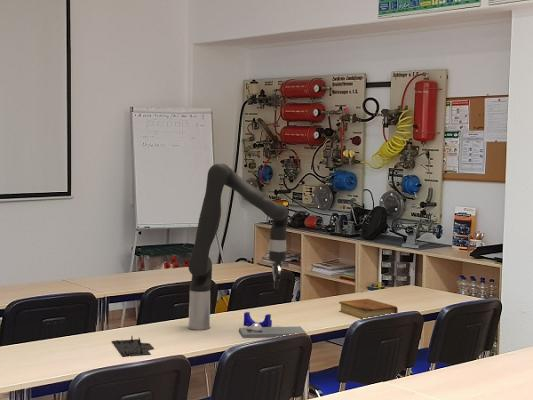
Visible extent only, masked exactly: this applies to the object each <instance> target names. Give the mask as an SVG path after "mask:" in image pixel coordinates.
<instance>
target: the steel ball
mask: <svg viewBox="0 0 533 400" xmlns="http://www.w3.org/2000/svg"><path fill="white" fill-rule="evenodd" d="M250 327H251V332H250V333H255V332H261V331H262V326H261V325H260V324H259V322H257V323H254V324H252V325H251V326H250Z"/></svg>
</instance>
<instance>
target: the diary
mask: <svg viewBox="0 0 533 400" xmlns="http://www.w3.org/2000/svg"><path fill="white" fill-rule="evenodd" d="M338 304H340V310H339V311H338V312H339V313H342V314H345V315H348V316H351V317H355V318H357V319H360V320H363V318H368V317H374V316H380V315H385V314H391V313H398V314H399V312H398V310H399V309H398V307H397V306H396V305H392V304H388V303H384V302H381V301H377V300H374V299H372V298H371V299H370V298H361V299H352V300H343V301H338Z"/></svg>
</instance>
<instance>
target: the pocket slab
mask: <svg viewBox="0 0 533 400" xmlns="http://www.w3.org/2000/svg"><path fill="white" fill-rule="evenodd" d="M238 332H239V334H240V336H241V337H242V339H254V338H255V339H256V338H257V339H258V338H263V339H264V338H277V337H276V336H283V335H289V334H295V333H306V334H307V332H306V331H305V330H304V329H303V327H302V326H301V325H300V326H298V325H297V326H271V327H262V331H261V332H255V333H252V332H251V326H245V327H238Z"/></svg>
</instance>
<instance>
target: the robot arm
mask: <svg viewBox="0 0 533 400" xmlns="http://www.w3.org/2000/svg"><path fill="white" fill-rule="evenodd" d="M224 186H226V187H229V188H231V189H232V190H233V191H235V192H237V193H238V194H239V195H240V196H241V197H242V198H243V199H244V200H245V201H247V203H249V204H250V205H253V206H254V207H256V208H257V209H259V210H260V211H262V212H263V214H265V215H266V216H267V217H268V218H269V219H271V220H272V226H271V227H270V231H269V246H268V260H269V261H271V262H273V263H272V265H271V269H272V270H271V271H272V278H273V289H274V290H279V289H280V281H281V279H282V275H283V265H282V262H285V261H286V260H287V228H288V227H287V226H288V220H289V210H288V207H287V206H286V205H285V204H283V203H277V202H275V201H274V200H272V199H271V197H270V196H268V194H266V193H265V192H263V191H261V190H260V189H258V188H257V187H255V186H253V185H252V184H250V183H249V182H248V181H247V180H245V179H243V178H242V177H241V176H240V175H239V174H238V173H236V172H235V171H234V170H233V169H232V168H231V167H229V165H227V164H225V163H215V164H213V165H211V166H210V168H209V169H208V171H207V177H206V187H205V194H204V198H203V201H202V206H201V210H200V213H199V218H198V223H197V228H196V232H195V241H194V245H193V248H192V251H191V254H190V258H189V261H188V271H189V273H190V274H191V280H190V283H189V305H188V328H189V330H195V331H196V330H198V331H199V330H202V331H203V330H208V329H210V327H211V326H210V325H211V323H210V322H211V285H212V279H213V277H212V276H213V275H212V274H213V264H212V263H213V262H212V259H211V257H210V251H211V247H212V244H213V242H214V239H215V237H216V235H217V233H218V229H219V227H220V222H221V218H222V203H221V201H222V199H221V198H222V193H223V189H224Z"/></svg>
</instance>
